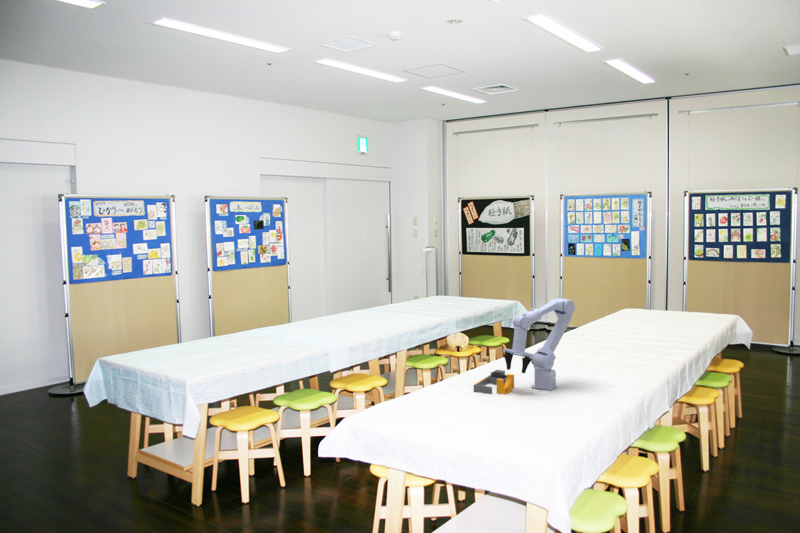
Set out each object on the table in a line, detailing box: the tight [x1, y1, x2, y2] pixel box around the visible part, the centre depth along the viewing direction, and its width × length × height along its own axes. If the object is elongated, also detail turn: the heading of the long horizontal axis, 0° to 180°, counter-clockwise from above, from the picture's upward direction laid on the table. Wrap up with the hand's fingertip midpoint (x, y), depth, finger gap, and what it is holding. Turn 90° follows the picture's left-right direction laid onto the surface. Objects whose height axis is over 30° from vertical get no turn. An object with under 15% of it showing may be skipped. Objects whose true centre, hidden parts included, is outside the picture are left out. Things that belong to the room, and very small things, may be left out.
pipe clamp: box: [496, 373, 515, 395], centre depth 272 cm, size 12×4×6 cm, turn 141°
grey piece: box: [473, 369, 508, 395], centre depth 279 cm, size 10×24×6 cm, turn 149°
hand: (515, 371), depth 269 cm, fingers open, 7 cm apart
